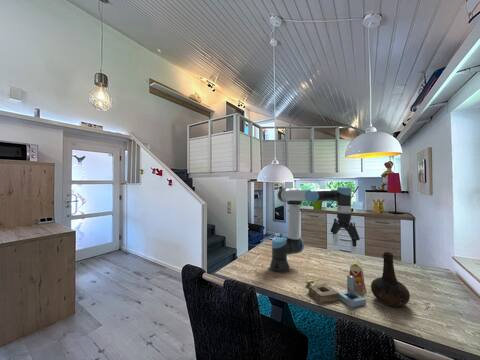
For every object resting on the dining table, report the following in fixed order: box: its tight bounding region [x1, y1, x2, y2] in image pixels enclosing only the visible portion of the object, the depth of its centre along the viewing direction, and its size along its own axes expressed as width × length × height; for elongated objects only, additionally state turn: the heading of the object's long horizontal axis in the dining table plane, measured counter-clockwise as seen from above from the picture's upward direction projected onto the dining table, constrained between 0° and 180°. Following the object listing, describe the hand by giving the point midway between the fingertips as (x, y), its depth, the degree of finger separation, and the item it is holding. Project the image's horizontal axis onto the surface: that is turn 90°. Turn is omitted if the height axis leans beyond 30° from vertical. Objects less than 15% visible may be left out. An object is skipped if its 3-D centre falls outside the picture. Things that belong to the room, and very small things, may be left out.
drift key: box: [306, 279, 316, 287], centre depth 132 cm, size 9×4×3 cm, turn 16°
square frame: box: [338, 290, 367, 308], centre depth 118 cm, size 10×10×3 cm
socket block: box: [308, 283, 340, 304], centre depth 123 cm, size 12×12×4 cm
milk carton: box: [348, 257, 367, 295], centre depth 130 cm, size 9×9×20 cm
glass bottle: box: [370, 251, 411, 308], centre depth 116 cm, size 18×18×28 cm
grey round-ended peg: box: [346, 274, 355, 299], centre depth 118 cm, size 4×4×14 cm
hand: (343, 247), depth 122 cm, fingers open, 13 cm apart
